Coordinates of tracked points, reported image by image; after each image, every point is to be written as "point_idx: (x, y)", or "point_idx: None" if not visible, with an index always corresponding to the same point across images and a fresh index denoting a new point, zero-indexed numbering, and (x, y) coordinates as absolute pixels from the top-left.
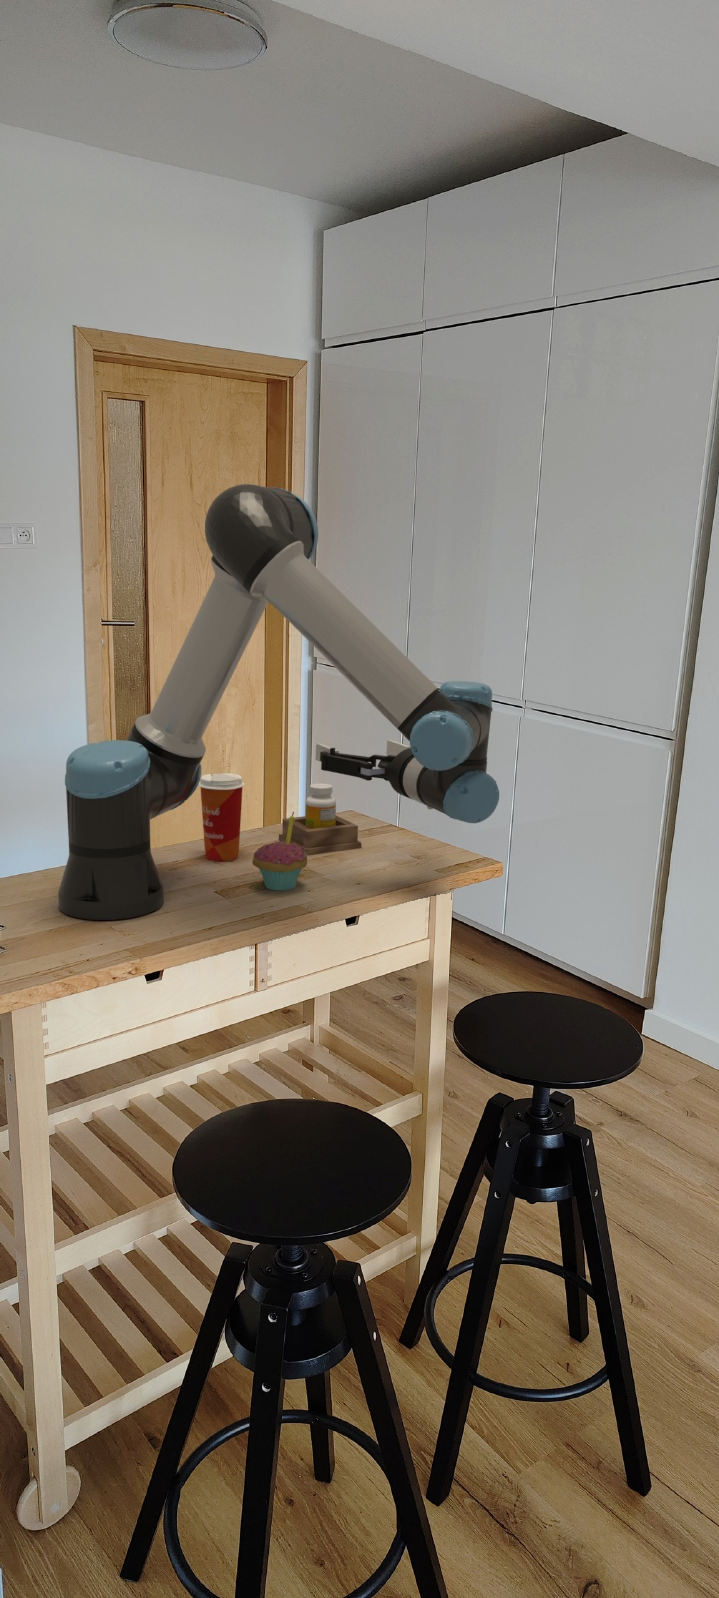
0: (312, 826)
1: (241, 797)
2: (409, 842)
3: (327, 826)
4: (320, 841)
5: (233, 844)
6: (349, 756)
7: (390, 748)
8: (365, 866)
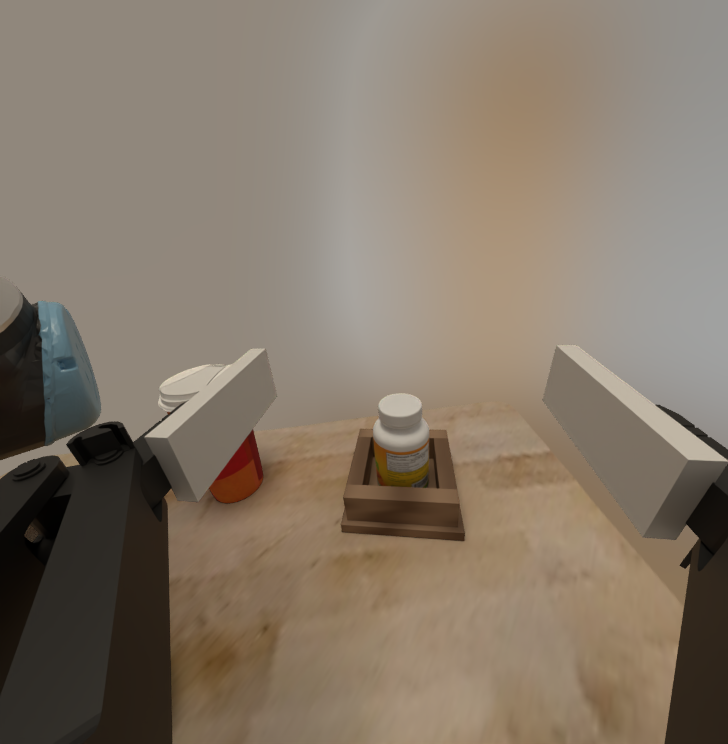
0: (378, 470)
1: None
2: (591, 554)
3: (401, 481)
4: (373, 514)
5: (225, 485)
6: (52, 562)
7: (562, 386)
8: (407, 696)
